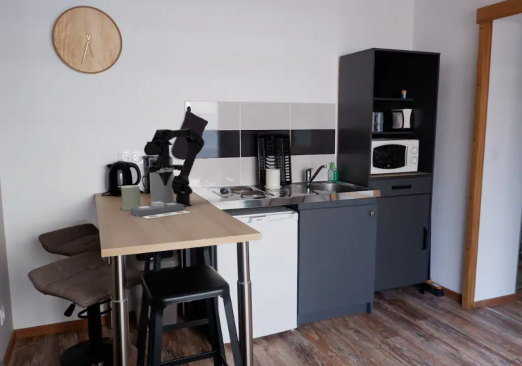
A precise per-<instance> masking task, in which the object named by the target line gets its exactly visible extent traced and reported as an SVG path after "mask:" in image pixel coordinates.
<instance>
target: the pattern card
mask: <svg viewBox="0 0 522 366" xmlns="http://www.w3.org/2000/svg"><path fill="white" fill-rule="evenodd" d="M184 214H191V211H187V210H184V211H178V212H171V213H164V214H157V215H150V216H144V217H142V219H146V220H150V219H157V218H165V217H172V216H177V215H184Z"/></svg>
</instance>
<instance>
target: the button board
mask: <svg viewBox="0 0 522 366" xmlns="http://www.w3.org/2000/svg"><path fill="white" fill-rule="evenodd" d="M173 203H176V201H174V202H173ZM165 204H166V203H165ZM165 204H164V206H163V207H156V208H155V207H151V204H150V205H147V206H148V207H150V208H148V209H138V207H134V208H131V210H130V215H133V216H136V217H138V218H143V217H144V216H150V215H157V214H164V213H171V212H178V211H185V206H184V205H183V204H179V203H176V204H177V205H171V206H167V205H165ZM143 206H144V205H143ZM143 206H141V207H143Z"/></svg>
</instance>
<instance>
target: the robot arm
mask: <svg viewBox="0 0 522 366" xmlns="http://www.w3.org/2000/svg"><path fill="white" fill-rule="evenodd" d="M183 137H184V138H185V142H186V143H187V154H186V156H185V159H184V161H183V164H179V163H178V164H173V165H172V166H171V165H170V159H171V157H172V156H170V146H172V145H173V143H172V142H171V141H172V140H173V139H175V138H183ZM204 146H205V140H204V139H203V137H202V136H201V135H200V134H198V133H197V132H196V131H195V130H194V129H193V128H191V127H190V128H187V127H186V128H183V129H167V128H166V129H165V128H163V129H156V130H155V133H154V135H153V137H152V139H151V141H146V144H145V145H144V148H143V152H144V154H145V155H146V156H147V157H149V156H156V157H157V160H150V166H149V165H148V166H145V167H144V173H148V174H150V173H155V172H156V171H157V172H156V173H158V174H159V176H160V177H161V179H162V182H163V184H164V186H166V185H167V183H168V180H169V178H170V176H171V174H172V173H173V174H174V171H179V174H178V175H173V181H172V189H173V192H174V195H175V203H179V204H183V205H184V207H188V206H192V203H191V195H193V189H192V188H191V186H190V178H189V177H190V174H191V171H192V169H193V166H194V164H195V163H194V162H195V160H196V157H197V155H198V154H199V153H200V152H201V151H202V150H203V148H204ZM166 167H168V168H166ZM164 170H165V171H164ZM172 170H173V172H172Z"/></svg>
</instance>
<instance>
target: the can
mask: <svg viewBox="0 0 522 366" xmlns="http://www.w3.org/2000/svg"><path fill="white" fill-rule="evenodd" d="M140 187H141V186H140V185H139V184H137V185H136V184H135V185H134V184H133V185H131V184H130V185H122V186H121V201H122V202H121V203H122V204H121V205H122V206H121V207H122V210H123V211H131V208H134V207H142V206H141V193H140V192H141V191H140V190H141V189H140Z"/></svg>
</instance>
